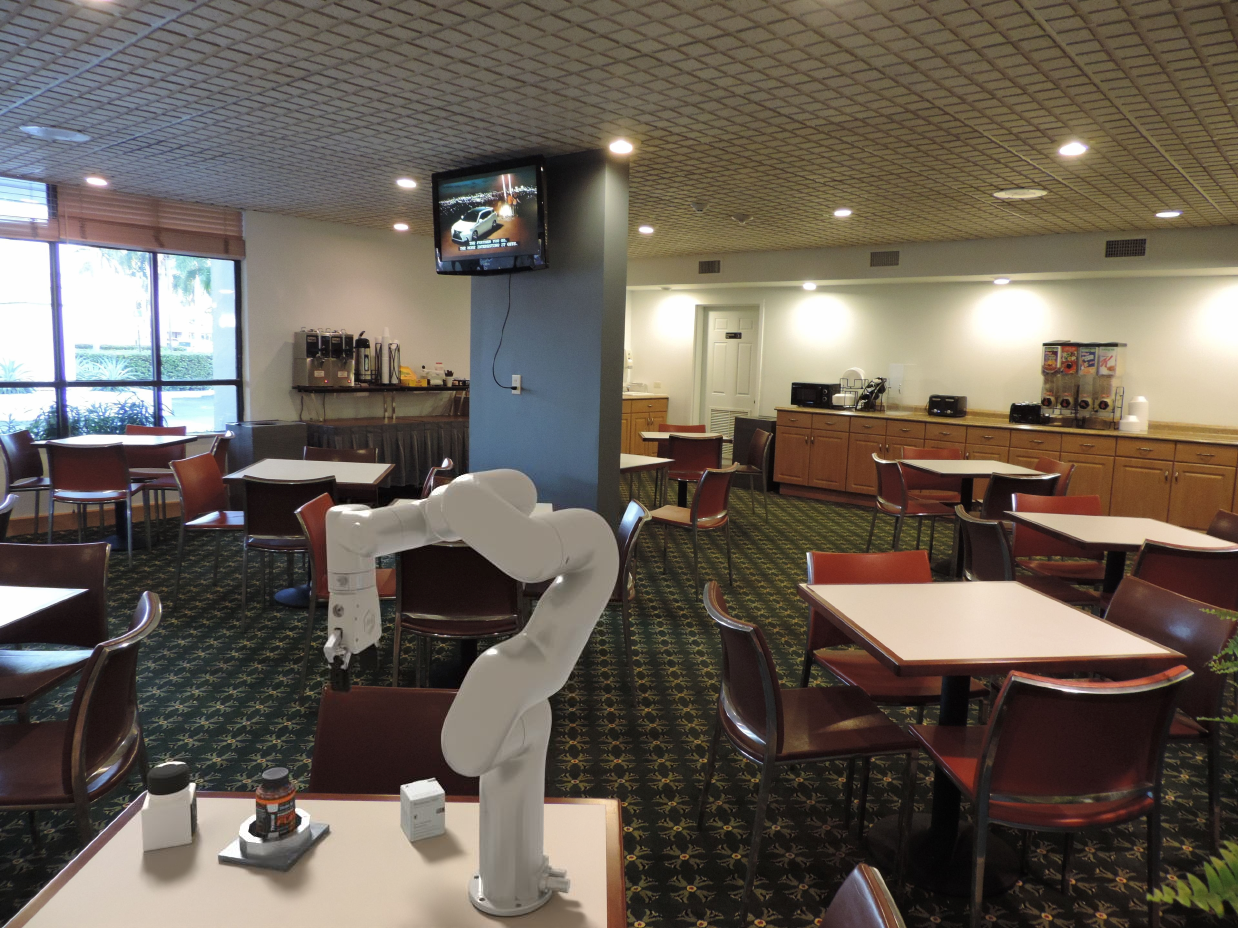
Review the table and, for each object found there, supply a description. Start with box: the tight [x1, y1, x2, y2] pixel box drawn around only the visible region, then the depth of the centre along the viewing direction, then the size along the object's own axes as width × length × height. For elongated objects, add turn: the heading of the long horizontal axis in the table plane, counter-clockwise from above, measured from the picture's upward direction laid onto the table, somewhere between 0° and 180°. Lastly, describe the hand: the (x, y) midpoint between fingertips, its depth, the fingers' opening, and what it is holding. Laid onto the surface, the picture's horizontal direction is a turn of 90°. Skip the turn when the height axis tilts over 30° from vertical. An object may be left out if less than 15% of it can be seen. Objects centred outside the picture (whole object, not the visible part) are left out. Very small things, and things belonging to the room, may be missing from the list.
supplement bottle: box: [255, 767, 296, 839], centre depth 132 cm, size 6×6×11 cm
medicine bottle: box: [140, 761, 198, 852], centre depth 134 cm, size 7×7×12 cm
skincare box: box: [399, 777, 446, 843], centre depth 138 cm, size 6×6×7 cm
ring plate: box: [217, 807, 331, 873], centre depth 133 cm, size 12×12×4 cm
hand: (355, 680), depth 136 cm, fingers open, 9 cm apart
